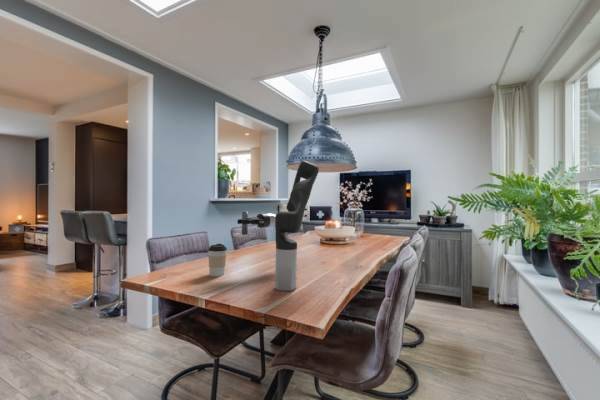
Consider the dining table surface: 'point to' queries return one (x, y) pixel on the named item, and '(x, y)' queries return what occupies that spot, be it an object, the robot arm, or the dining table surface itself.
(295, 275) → the robot arm
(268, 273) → the dining table surface
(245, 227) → the grey post on base
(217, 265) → the coffee cup
